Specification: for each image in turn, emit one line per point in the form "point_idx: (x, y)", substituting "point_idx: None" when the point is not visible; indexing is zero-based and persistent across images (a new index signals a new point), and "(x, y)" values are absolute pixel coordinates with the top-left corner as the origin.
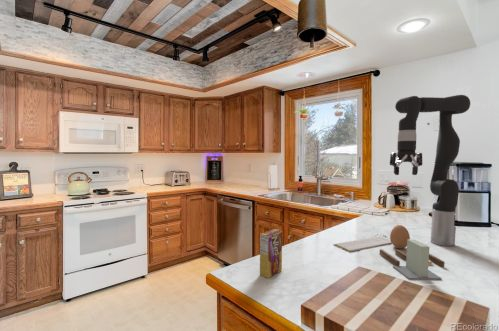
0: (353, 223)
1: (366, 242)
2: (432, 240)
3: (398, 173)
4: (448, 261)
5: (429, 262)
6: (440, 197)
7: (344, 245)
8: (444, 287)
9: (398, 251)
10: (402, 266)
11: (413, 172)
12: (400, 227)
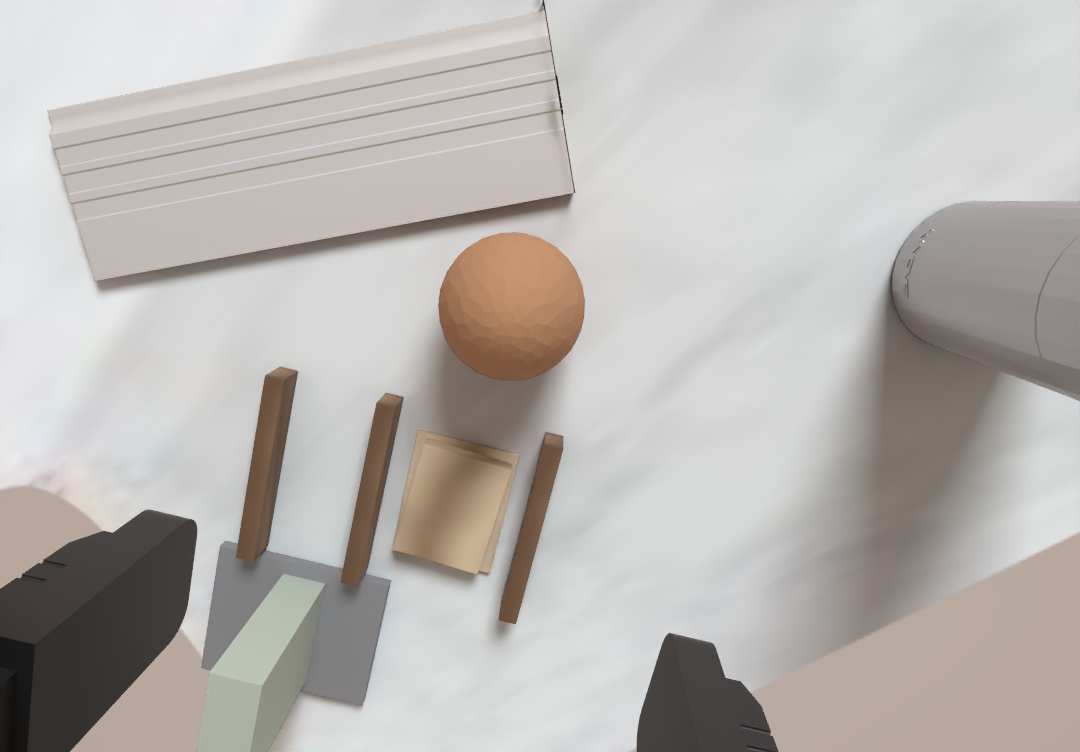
0: None
1: (324, 155)
2: (906, 255)
3: (147, 647)
4: (637, 545)
5: (464, 568)
6: None
7: (106, 179)
8: (316, 743)
9: (370, 434)
10: (270, 563)
11: (661, 713)
12: (482, 345)
